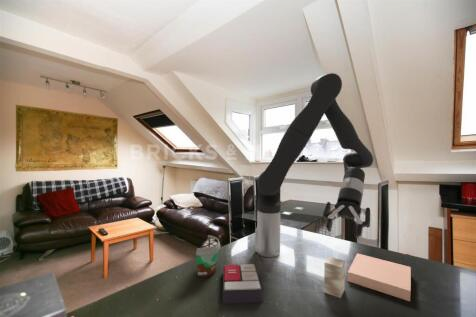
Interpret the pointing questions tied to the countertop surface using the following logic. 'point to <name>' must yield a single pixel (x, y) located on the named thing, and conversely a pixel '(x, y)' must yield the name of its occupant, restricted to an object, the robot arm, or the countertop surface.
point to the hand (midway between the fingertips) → (342, 233)
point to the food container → (208, 257)
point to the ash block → (334, 276)
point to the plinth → (381, 276)
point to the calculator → (241, 284)
